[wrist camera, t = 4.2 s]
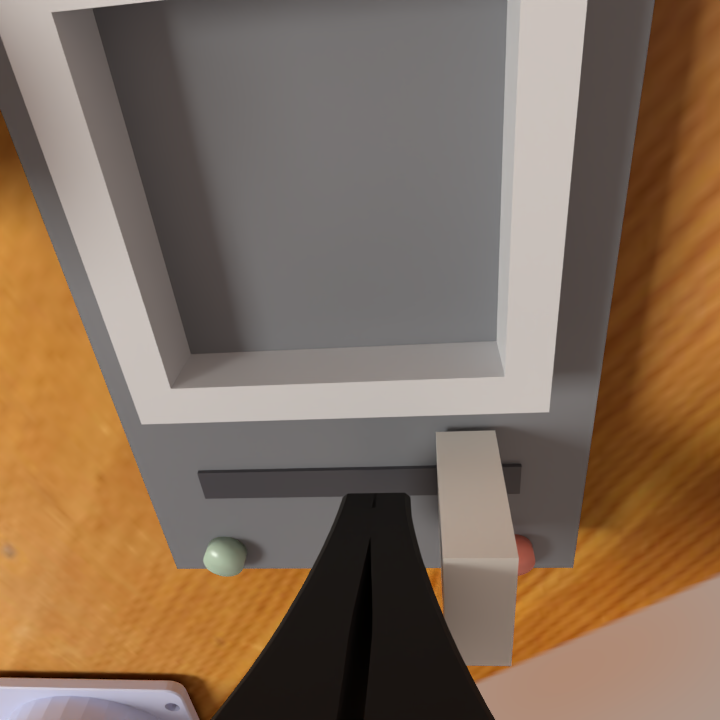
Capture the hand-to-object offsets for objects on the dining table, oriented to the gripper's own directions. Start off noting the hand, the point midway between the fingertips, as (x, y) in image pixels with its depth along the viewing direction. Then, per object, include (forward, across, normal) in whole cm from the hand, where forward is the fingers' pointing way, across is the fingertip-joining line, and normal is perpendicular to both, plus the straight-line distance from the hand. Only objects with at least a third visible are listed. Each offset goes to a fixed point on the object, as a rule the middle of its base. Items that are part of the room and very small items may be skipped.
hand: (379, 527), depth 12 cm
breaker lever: (+1, -2, 0) cm, 2 cm away
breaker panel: (+3, +1, -4) cm, 5 cm away
